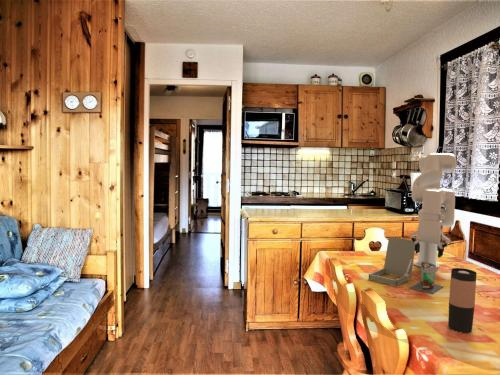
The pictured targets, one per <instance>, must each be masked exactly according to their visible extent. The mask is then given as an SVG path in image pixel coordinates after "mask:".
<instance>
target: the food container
mask: <svg viewBox="0 0 500 375" xmlns="http://www.w3.org/2000/svg"><path fill="white" fill-rule="evenodd" d="M437 272H438V268H437V267H436V265H434V264H432V263H428V262H422V261H421V267H420V281H419V282H420V284H421V287H422V289H424V290H430V289H433V287H434V284H435V279H436V273H437Z"/></svg>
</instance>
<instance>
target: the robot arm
mask: <svg viewBox="0 0 500 375" xmlns="http://www.w3.org/2000/svg"><path fill="white" fill-rule="evenodd" d="M457 163H458V162H457V158H456V155H455V154H453V153H448V152H446V153H444V152H442V153H441V152H440V153H438V152H437V153H436V152H433V153H429V154H426V155H423V156H421V157H420V158H419V160H418V168H419V170H420V174H419V175H418V176H417V177H416V178H415V179H414V180H413V183H412V187H411V199H412V201H413V202H414V203H417V204H422V205H421V209H420V210H419V211H418V216H417V218H418V219H417V220H418V226H417V231H413V232H410V233H409V236H410V240H412V241H413V242H414V244H415V253H416V254H417V260H414V261H413V265H415V266H417V267H419V268H421V261H422V262H428V263H432V264H434V265H436V267H437V269H438V268H440V264H439V263H437V259H438V258H441V257H442V256H443V255H444V248H446V247H447V246H448V245H449V244H450V243H451V241H452V240H451V238H449V237H447V236H446V235H444V228H451V227H453V226H454V224H455V223H454V222H455V210H456V209H455V207H456V194H455V192H454V190H452V189H449V188H441V181H442V179H443V173H453V172H454V171H455V170H456V168H457ZM442 207H443V208H444V209H443V208H442ZM444 241H445V242H444ZM443 242H444V243H443Z"/></svg>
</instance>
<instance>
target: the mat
mask: <svg viewBox="0 0 500 375" xmlns="http://www.w3.org/2000/svg"><path fill="white" fill-rule="evenodd" d="M443 288H444V286H443V285H440V284H439V285H438V284H436V283H434V287H433V289H430V290H424V289H422V287H421V284H420V281H419V282H417V283H415V284H413V285H411V286H409V288H408V289H410V290H414V291H418V292H422V293H427V294H429V295H434V294H435V293H436V292H439V291H440V290H441V289H443Z"/></svg>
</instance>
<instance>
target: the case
mask: <svg viewBox="0 0 500 375" xmlns="http://www.w3.org/2000/svg"><path fill="white" fill-rule="evenodd" d="M415 253H416V251H415V244H414V242H413V241H412V239H406V238H400V237H395V236H394V237H393V236H388V242H387V247H386V254H385V259H384V265H383V268H381V269H380V268H379V270H376V271H373V272H370V273H368V280H371V281H375V282H378V283H381V284H387V285H389V286H390V285H391V286H395V287H398V286H400V285H402V284H403V283H405V282H407V281H410V280H411V279H412V271H413V266H414V262H415ZM384 274H386V275H391V276H396V277H398V278H397V279H393V278H388V277H385V276H382V275H384Z"/></svg>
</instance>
